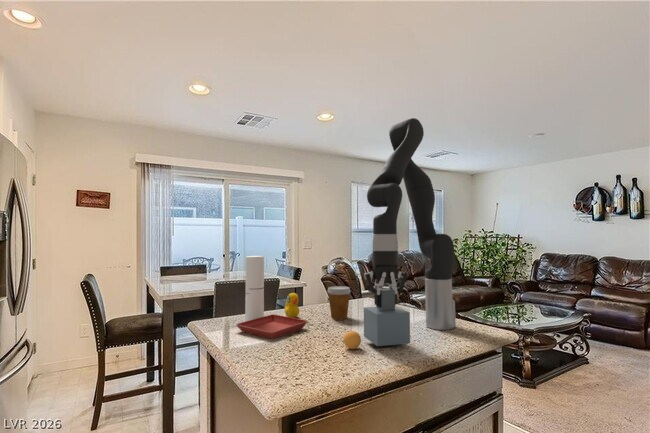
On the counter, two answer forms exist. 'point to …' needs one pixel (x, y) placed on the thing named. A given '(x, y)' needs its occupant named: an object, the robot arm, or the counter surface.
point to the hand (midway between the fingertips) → (385, 306)
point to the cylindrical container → (254, 287)
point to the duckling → (292, 305)
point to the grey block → (387, 322)
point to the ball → (352, 340)
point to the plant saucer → (272, 326)
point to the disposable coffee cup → (339, 301)
